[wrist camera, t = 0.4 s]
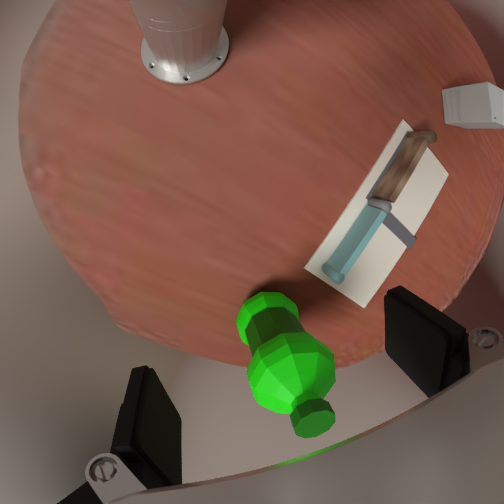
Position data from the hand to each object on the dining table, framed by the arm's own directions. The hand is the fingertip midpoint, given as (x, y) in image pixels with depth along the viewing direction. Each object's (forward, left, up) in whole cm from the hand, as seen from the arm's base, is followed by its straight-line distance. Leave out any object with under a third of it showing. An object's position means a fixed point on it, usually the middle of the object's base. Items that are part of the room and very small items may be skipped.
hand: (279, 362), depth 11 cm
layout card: (+3, +28, -34) cm, 45 cm away
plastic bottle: (+17, +5, -34) cm, 39 cm away
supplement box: (-17, +47, -34) cm, 61 cm away
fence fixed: (-6, +30, -34) cm, 45 cm away
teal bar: (+6, +20, -33) cm, 39 cm away
